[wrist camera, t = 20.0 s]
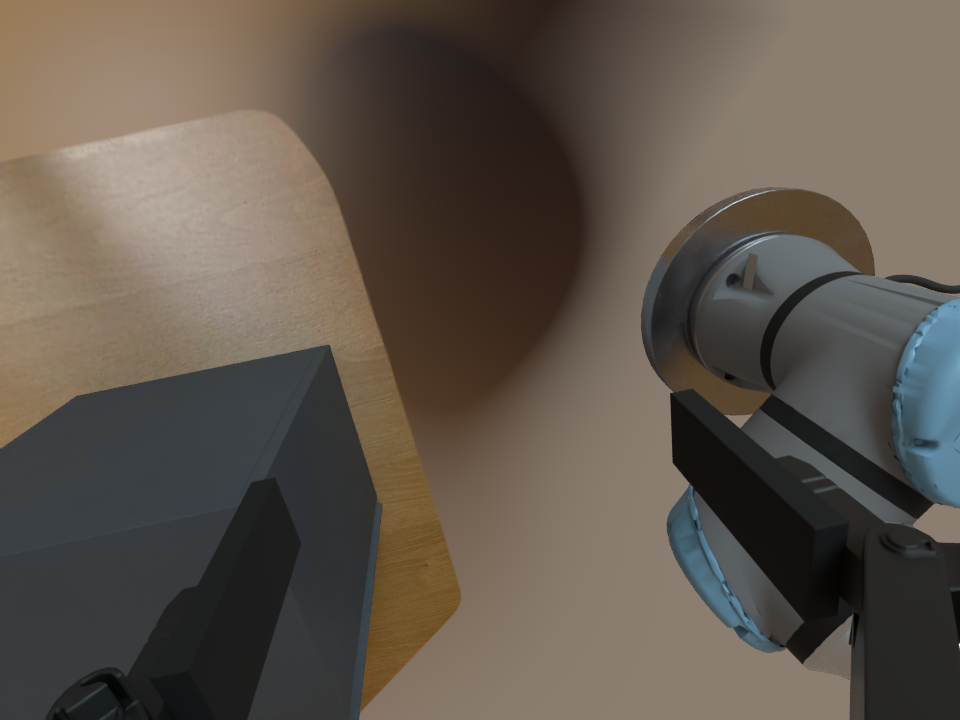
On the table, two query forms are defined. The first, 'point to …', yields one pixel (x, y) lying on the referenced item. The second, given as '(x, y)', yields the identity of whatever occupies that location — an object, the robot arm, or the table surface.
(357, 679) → the cupboard door
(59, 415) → the cupboard
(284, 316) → the table surface
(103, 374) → the table surface
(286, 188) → the table surface
